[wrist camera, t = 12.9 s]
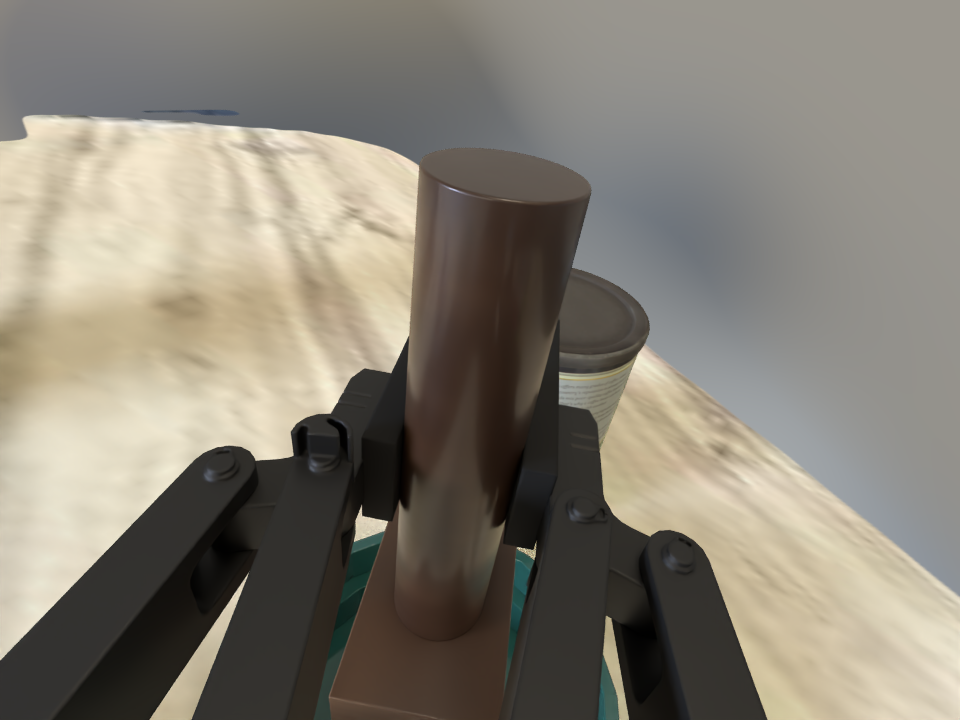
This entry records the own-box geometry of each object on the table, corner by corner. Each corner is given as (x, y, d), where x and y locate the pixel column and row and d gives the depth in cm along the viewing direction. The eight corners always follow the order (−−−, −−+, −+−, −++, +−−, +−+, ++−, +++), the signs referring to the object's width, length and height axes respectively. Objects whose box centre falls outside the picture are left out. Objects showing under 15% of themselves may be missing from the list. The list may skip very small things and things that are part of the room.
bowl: (155, 949, 17) (112, 931, 14) (325, 554, 29) (321, 500, 26) (596, 1050, 17) (646, 1052, 14) (582, 606, 29) (606, 557, 26)
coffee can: (418, 450, 37) (433, 279, 29) (521, 404, 43) (558, 250, 34) (508, 558, 31) (560, 380, 22) (614, 487, 36) (687, 324, 28)
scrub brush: (334, 750, 15) (273, 215, 6) (392, 559, 21) (415, 112, 11) (480, 781, 15) (689, 290, 5) (502, 581, 21) (626, 149, 11)
